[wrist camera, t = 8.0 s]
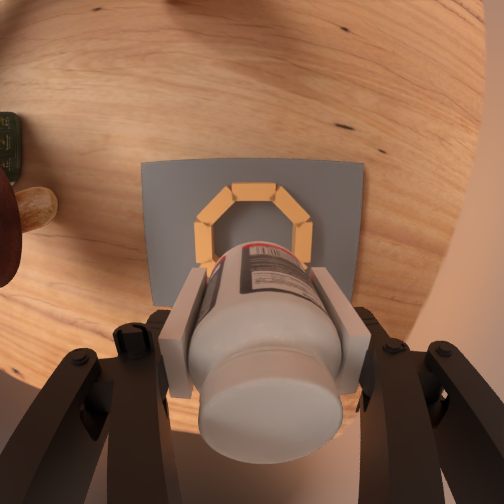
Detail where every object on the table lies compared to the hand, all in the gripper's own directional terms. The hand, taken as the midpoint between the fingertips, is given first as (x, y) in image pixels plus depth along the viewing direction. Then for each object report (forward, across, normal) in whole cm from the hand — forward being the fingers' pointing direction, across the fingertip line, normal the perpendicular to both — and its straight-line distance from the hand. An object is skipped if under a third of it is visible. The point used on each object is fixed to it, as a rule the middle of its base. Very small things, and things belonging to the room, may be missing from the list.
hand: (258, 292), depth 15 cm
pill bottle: (+1, 0, 0) cm, 1 cm away
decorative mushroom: (+13, -22, +4) cm, 26 cm away
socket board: (+13, 0, 0) cm, 13 cm away
